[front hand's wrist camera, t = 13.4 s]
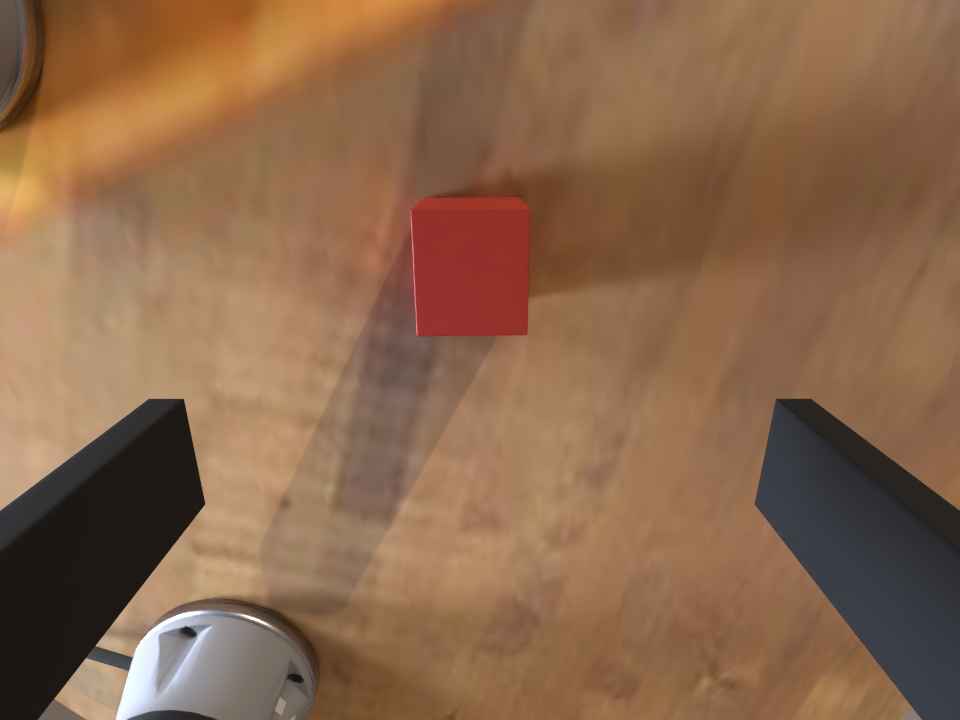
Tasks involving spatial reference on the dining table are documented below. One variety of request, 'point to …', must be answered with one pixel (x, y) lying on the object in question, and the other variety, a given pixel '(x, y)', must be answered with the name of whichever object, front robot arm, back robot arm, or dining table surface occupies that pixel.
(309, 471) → the dining table surface
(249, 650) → the front robot arm
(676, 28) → the dining table surface
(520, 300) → the block
